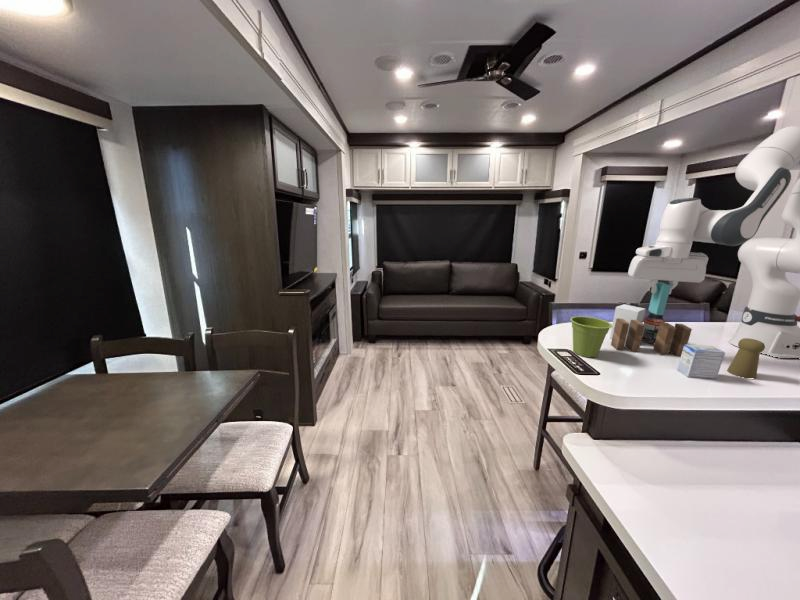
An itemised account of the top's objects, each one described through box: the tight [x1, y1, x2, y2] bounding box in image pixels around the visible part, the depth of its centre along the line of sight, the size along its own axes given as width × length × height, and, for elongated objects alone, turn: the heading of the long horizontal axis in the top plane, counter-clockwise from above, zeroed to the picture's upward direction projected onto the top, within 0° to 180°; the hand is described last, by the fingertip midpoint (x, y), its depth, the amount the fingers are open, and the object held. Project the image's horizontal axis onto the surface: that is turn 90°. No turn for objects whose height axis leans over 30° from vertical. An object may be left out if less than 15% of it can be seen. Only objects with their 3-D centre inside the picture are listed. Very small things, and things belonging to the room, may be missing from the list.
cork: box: [726, 338, 765, 379], centre depth 93 cm, size 6×6×11 cm
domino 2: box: [624, 320, 645, 353], centre depth 109 cm, size 2×5×10 cm, turn 167°
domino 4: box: [653, 321, 676, 356], centre depth 107 cm, size 2×5×10 cm, turn 168°
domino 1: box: [610, 318, 630, 352], centre depth 110 cm, size 2×5×10 cm, turn 167°
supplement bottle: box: [641, 311, 666, 345], centre depth 117 cm, size 6×6×11 cm
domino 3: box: [648, 281, 671, 316], centre depth 104 cm, size 2×5×10 cm, turn 167°
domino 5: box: [669, 323, 693, 358], centre depth 106 cm, size 2×5×10 cm, turn 168°
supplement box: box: [609, 303, 647, 343], centre depth 117 cm, size 7×7×13 cm
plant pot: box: [570, 315, 613, 358], centre depth 104 cm, size 12×12×11 cm
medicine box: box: [676, 344, 726, 379], centre depth 92 cm, size 8×4×9 cm, turn 84°
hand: (660, 293), depth 104 cm, fingers closed on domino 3, 2 cm apart
